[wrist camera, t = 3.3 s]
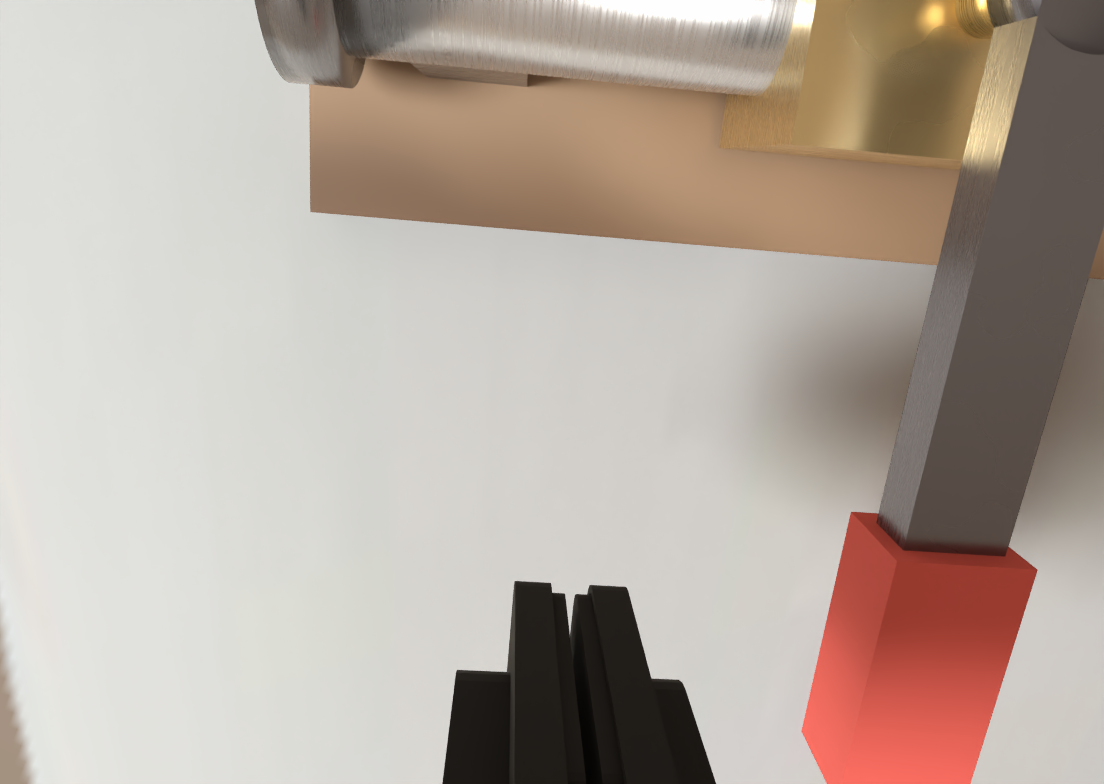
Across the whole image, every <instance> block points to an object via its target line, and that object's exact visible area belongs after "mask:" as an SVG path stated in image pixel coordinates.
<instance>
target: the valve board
mask: <svg viewBox="0 0 1104 784" xmlns="http://www.w3.org/2000/svg"><path fill="white" fill-rule="evenodd" d="M255 5H256V9H257V14H258V19H259V23H260V27H261V31H262V35H263V38H264V41H265V44H266V47H267V50H268V53H269V55H270V58H271V60H272V62H273V64H274V66H275V68H276V70H277V71H278V73H279V74H280V76H281V77H282V78H283V79H284V80H286V81H287V82H289V83H299V84H309V89H310V208H311V212H318V213H330V214H341V215H353V216H365V217H377V218H388V219H400V220H412V221H424V222H435V223H447V224H459V225H471V226H482V227H494V228H506V229H518V230H530V231H541V232H553V233H565V234H577V235H588V236H600V237H612V238H624V239H635V240H647V241H659V242H671V243H682V244H694V245H706V246H718V247H729V248H741V249H753V250H765V251H776V252H788V253H800V254H812V255H824V256H835V257H847V258H859V259H871V260H882V261H894V262H906V263H918V264H929V265H938V262H939V257H940V253H941V249H942V245H943V241H944V236H945V232H946V228H947V224H948V220H949V215H950V211H951V207H952V203H953V199H954V194H955V190H956V186H957V182H958V178H959V173H960V169H961V165H962V161H963V157H964V152H965V148H966V144H967V140H968V135H969V131H970V127H971V123H972V119H973V114H974V110H975V106H976V102H977V98H978V93H979V89H980V85H981V81H982V77H983V72H984V68H985V64H986V60H987V56H988V51H989V47H990V43H991V39H992V35H993V30H994V27H993V25H992V22H991V19H990V16H989V13H988V8H987V3H986V0H255ZM1089 278H1094V279H1104V227H1103V231H1102V234H1101V238H1100V241H1099V244H1098V248H1097V251H1096V254H1095V258H1094V261H1093V264H1092V268H1091V271H1090V274H1089Z"/></svg>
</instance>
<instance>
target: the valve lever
mask: <svg viewBox="0 0 1104 784" xmlns="http://www.w3.org/2000/svg"><path fill="white" fill-rule="evenodd" d="M986 3H987V8H988V13H989V16H990V19H991V22H992V25H993V27H994V30H993V35H992V39H991V43H990V47H989V51H988V56H987V60H986V64H985V68H984V72H983V77H982V81H981V85H980V89H979V93H978V98H977V102H976V106H975V110H974V114H973V119H972V123H971V127H970V131H969V135H968V140H967V144H966V148H965V152H964V157H963V161H962V165H961V169H960V173H959V178H958V182H957V186H956V190H955V194H954V199H953V203H952V207H951V211H950V215H949V220H948V224H947V228H946V232H945V236H944V241H943V245H942V249H941V253H940V257H939V262H938V266H937V270H936V274H935V278H934V283H933V287H932V291H931V295H930V300H929V304H928V308H927V312H926V316H925V321H924V325H923V329H922V333H921V337H920V342H919V346H918V350H917V354H916V358H915V363H914V367H913V371H912V375H911V379H910V384H909V388H908V392H907V396H906V400H905V405H904V409H903V413H902V417H901V422H900V426H899V430H898V434H897V438H896V443H895V447H894V451H893V455H892V459H891V464H890V468H889V472H888V476H887V480H886V485H885V489H884V493H883V497H882V501H881V506H880V510H879V514H877V513H861V512H851V515H850V519H849V524H848V528H847V533H846V537H845V541H844V546H843V550H842V555H841V559H840V564H839V568H838V572H837V577H836V581H835V586H834V590H833V595H832V599H831V603H830V608H829V612H828V617H827V621H826V626H825V630H824V635H823V639H822V643H821V648H820V652H819V657H818V661H817V666H816V670H815V674H814V679H813V683H812V688H811V692H810V697H809V701H808V705H807V710H806V714H805V719H804V723H803V728H802V733H803V735H804V737H805V739H806V741H807V743H808V745H809V747H810V749H811V752H812V754H813V756H814V758H815V760H816V762H817V764H818V766H819V768H820V770H821V772H822V774H823V776H824V778H825V780H826V782H827V784H970V783H971V780H972V777H973V773H974V770H975V767H976V764H977V761H978V758H979V754H980V751H981V748H982V745H983V742H984V738H985V735H986V732H987V729H988V726H989V723H990V719H991V716H992V713H993V710H994V707H995V704H996V700H997V697H998V694H999V691H1000V688H1001V684H1002V681H1003V678H1004V675H1005V672H1006V669H1007V665H1008V662H1009V659H1010V656H1011V653H1012V649H1013V646H1014V643H1015V640H1016V637H1017V634H1018V630H1019V627H1020V624H1021V621H1022V618H1023V615H1024V611H1025V608H1026V605H1027V602H1028V599H1029V595H1030V592H1031V589H1032V586H1033V583H1034V580H1035V576H1036V573H1037V569H1036V568H1034V567H1033V566H1032V565H1031V564H1029V563H1028V562H1027V561H1026V560H1024V559H1023V558H1022V557H1021V556H1020V555H1018V554H1017V553H1016V552H1015V551H1013V550H1012V549H1011V548H1010V547H1008V546H1009V542H1010V539H1011V536H1012V532H1013V529H1014V526H1015V522H1016V519H1017V516H1018V512H1019V509H1020V506H1021V502H1022V499H1023V496H1024V492H1025V489H1026V486H1027V482H1028V479H1029V475H1030V472H1031V469H1032V465H1033V462H1034V459H1035V455H1036V452H1037V449H1038V445H1039V442H1040V439H1041V435H1042V432H1043V429H1044V425H1045V422H1046V418H1047V415H1048V412H1049V408H1050V405H1051V402H1052V398H1053V395H1054V392H1055V388H1056V385H1057V382H1058V378H1059V375H1060V372H1061V368H1062V365H1063V362H1064V358H1065V355H1066V351H1067V348H1068V345H1069V341H1070V338H1071V335H1072V331H1073V328H1074V325H1075V321H1076V318H1077V315H1078V311H1079V308H1080V305H1081V301H1082V298H1083V295H1084V291H1085V288H1086V284H1087V281H1088V278H1089V274H1090V271H1091V268H1092V264H1093V261H1094V258H1095V254H1096V251H1097V248H1098V244H1099V241H1100V238H1101V234H1102V231H1103V227H1104V0H986Z"/></svg>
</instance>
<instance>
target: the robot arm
mask: <svg viewBox="0 0 1104 784" xmlns="http://www.w3.org/2000/svg"><path fill="white" fill-rule="evenodd" d="M443 784H716V782H715V779H714V776H713V773H712V770H711V767H710V764H709V761H708V758H707V755H706V752H705V749H704V745H703V742H702V739H701V736H700V733H699V730H698V727H697V724H696V721H695V718H694V715H693V712H692V708H691V705H690V702H689V699H688V696H687V693H686V690H685V688H684V686H683V683H682V682H681V681H679V680H669V679H651V676H650V672H649V668H648V665H647V661H646V657H645V653H644V650H643V646H642V642H641V638H640V634H639V631H638V627H637V623H636V619H635V615H634V612H633V608H632V604H631V600H630V597H629V593H628V590H627V588H626V587H616V586H597V585H590V586H589V589H588V594H587V595H581V594H576V595H575V598H574V605H573V614H572V623H571V633H570V634H569V625H568V616H567V607H566V599H565V594H562V593H552V587H551V583H541V582H522V581H515V583H514V593H513V605H512V617H511V630H510V642H509V654H508V667H507V672H490V671H468V670H457V672H456V678H455V686H454V694H453V703H452V711H451V719H450V727H449V735H448V744H447V752H446V760H445V768H444V776H443Z"/></svg>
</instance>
